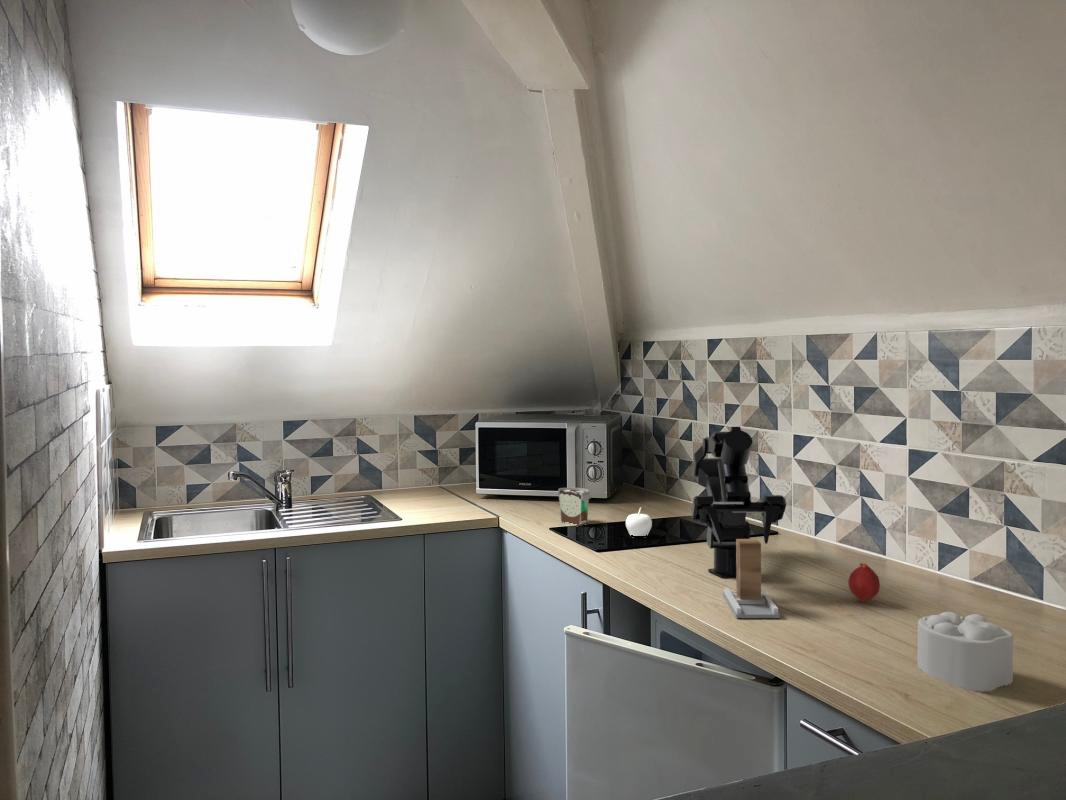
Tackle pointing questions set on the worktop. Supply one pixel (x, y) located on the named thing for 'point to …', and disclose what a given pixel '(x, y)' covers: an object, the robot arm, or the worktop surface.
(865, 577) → the onion
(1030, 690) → the worktop surface
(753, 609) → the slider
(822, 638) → the worktop surface
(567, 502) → the food container
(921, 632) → the lumpy-topped squat cylinder
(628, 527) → the plain white apple
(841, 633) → the worktop surface
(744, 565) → the brown rectangular block
